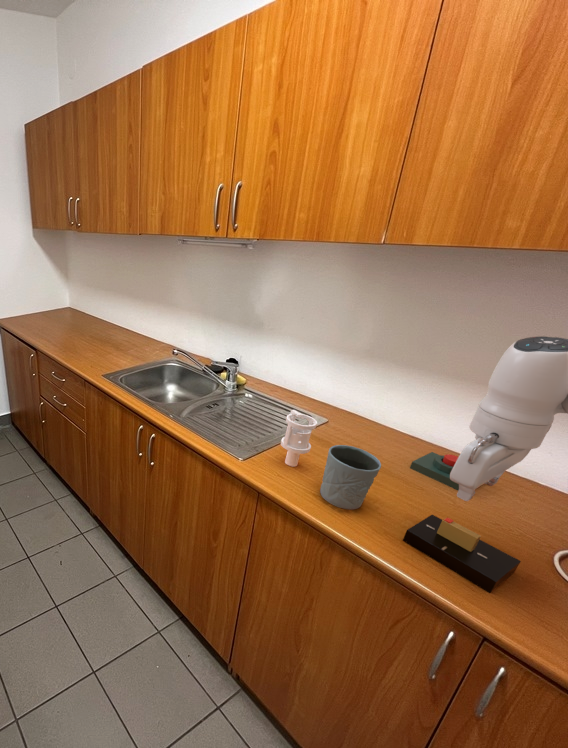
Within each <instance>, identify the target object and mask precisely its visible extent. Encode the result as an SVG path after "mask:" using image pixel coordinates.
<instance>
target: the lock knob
mask: <svg viewBox="0 0 568 748" xmlns="http://www.w3.org/2000/svg"><path fill="white" fill-rule="evenodd" d="M437 534H439V535H441V536H443V537H445V538H446V539H448V540H450V541H452V542H454V543H455V544H457V545H459V546H461V547H463V548H464V549H466V550H468V551H470V552H471V551H473V550H474V549H475V547H476V545H477V543H478V541H479V539H480V540H481V537H482V535H481V534H479V533H477V532H475V531H473V530H471V529H469V528H468V527H465V526H463V525H461V524H460V523H457V522H456V521H455V520H453V519H452V518H449V517H445V518H443V519H442V522H441V524H440V527H439V529H438V531H437Z"/></svg>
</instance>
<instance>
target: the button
mask: <svg viewBox="0 0 568 748" xmlns="http://www.w3.org/2000/svg"><path fill="white" fill-rule="evenodd" d="M443 456H444V458H443V461H442V462H443V463H445V464H447V465H449V466H452V467H454V465H455V463H456V461H457V459H458V457H459V455H458V456H457V455H454V454H448V453H447V454H444V455H443Z"/></svg>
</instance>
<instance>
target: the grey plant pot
mask: <svg viewBox="0 0 568 748" xmlns="http://www.w3.org/2000/svg"><path fill="white" fill-rule="evenodd" d="M381 468H382V462H381V461H380V459H379V458H377V457H376V455H373V454H372V453H370V452H369V451H367V450H365V449H362V448H359V447H355V446H353V445H345V444H336V445H332V446H331V447H329V449H328V451H327V457H326V464H325V466H324V472H323V476H322V483H321V484H320V489H319V493H320V495H321V498H323V499H324V500H325V501H326V502H327V503H329V504H331V505H333V506H334V507H337V508H340V509H344V510H357V509H359V508H360V507H361V506H362V505H363V502H364V501H365V499H366V497H367V495H368V493H369V490H370V489H371V487H372V485H373V483H374V481H375V478H377V476H378V475H379V472H380V470H381Z"/></svg>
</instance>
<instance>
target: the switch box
mask: <svg viewBox="0 0 568 748" xmlns="http://www.w3.org/2000/svg"><path fill="white" fill-rule="evenodd" d="M444 456H445V455H442V454H438V453H437V452H433V451H430V452H429V453H427V454H425V455H423V456H420V457H418V458H416V459H415V460H412V461H411V464H410V466H409V469H410V470H412V471H415V472H417V473H420V474H421V475H423V476H426V477H428V478H430V479H431V480H434V481H437V482H439V483H441V484H443V485H445V486H447V487H450V488H451V489H454V490H456V491H457V492H458V491H459V484H458V483H455V482H453V481H452V480H451V479H450V473H451V471H452V469H453V467H452V466H449V465H447V464H445V463H443V462H442V461H443V458H444ZM480 487H481V486H479V487H478V488H480Z"/></svg>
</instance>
